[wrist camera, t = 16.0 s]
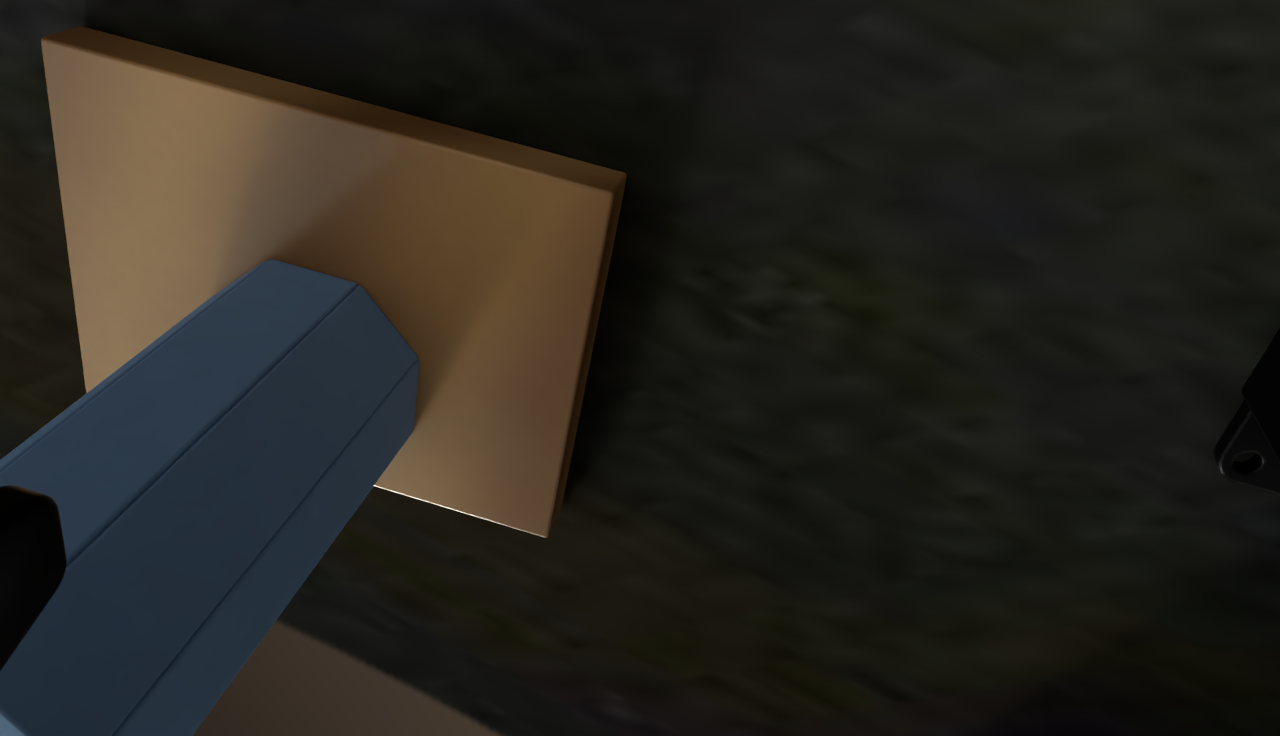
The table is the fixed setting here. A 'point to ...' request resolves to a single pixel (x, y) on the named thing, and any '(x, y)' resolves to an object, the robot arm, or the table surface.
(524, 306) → the base
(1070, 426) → the table surface
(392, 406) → the sleeve
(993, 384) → the table surface
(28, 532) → the robot arm
